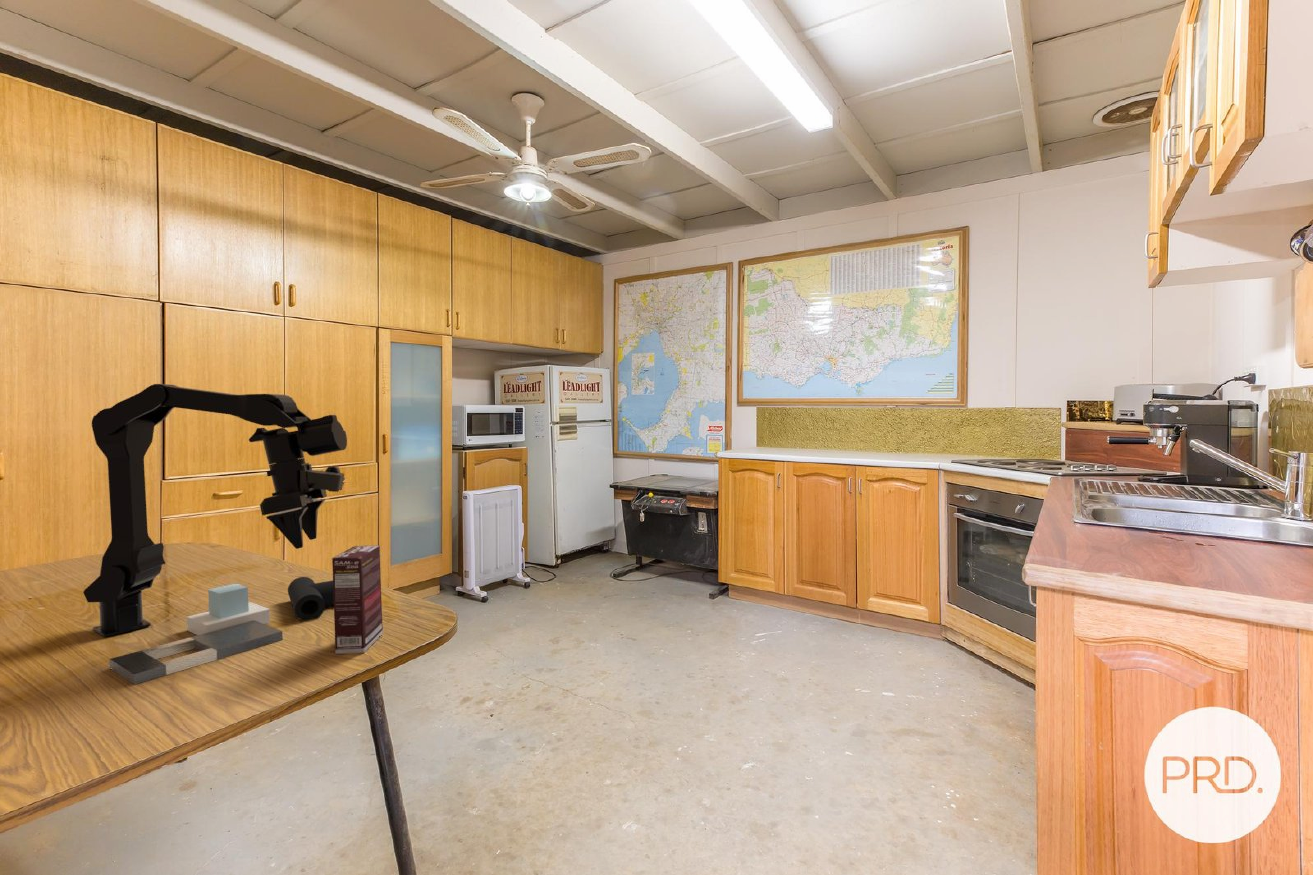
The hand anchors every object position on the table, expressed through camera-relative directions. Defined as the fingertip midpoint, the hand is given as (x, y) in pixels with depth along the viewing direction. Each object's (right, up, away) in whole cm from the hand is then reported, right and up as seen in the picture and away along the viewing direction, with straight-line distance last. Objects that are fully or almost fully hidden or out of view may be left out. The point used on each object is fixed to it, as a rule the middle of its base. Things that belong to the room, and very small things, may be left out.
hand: (306, 543), depth 111 cm
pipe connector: (-2, -15, +10) cm, 18 cm away
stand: (-13, -15, -2) cm, 20 cm away
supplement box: (+15, -15, -10) cm, 24 cm away
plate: (-9, -15, -14) cm, 23 cm away
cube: (-13, -12, -2) cm, 18 cm away
